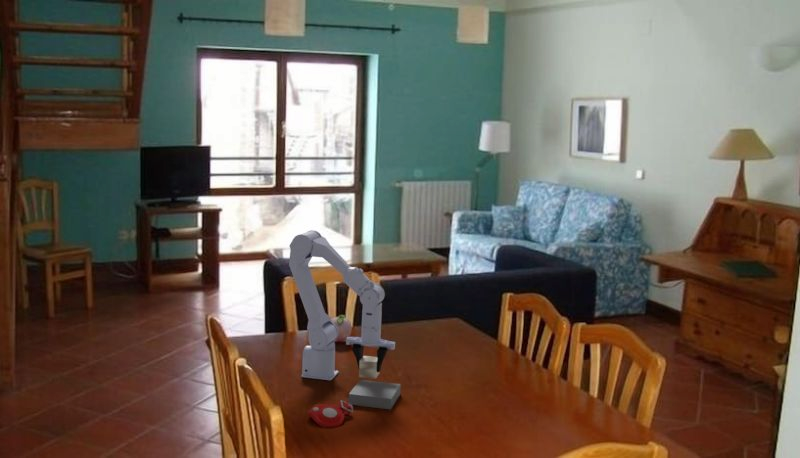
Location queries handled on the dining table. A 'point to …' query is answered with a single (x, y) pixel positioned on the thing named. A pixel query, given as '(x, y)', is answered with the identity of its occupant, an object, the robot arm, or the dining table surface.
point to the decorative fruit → (342, 327)
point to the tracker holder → (330, 414)
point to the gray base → (374, 394)
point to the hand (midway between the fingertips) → (369, 369)
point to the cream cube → (368, 367)
